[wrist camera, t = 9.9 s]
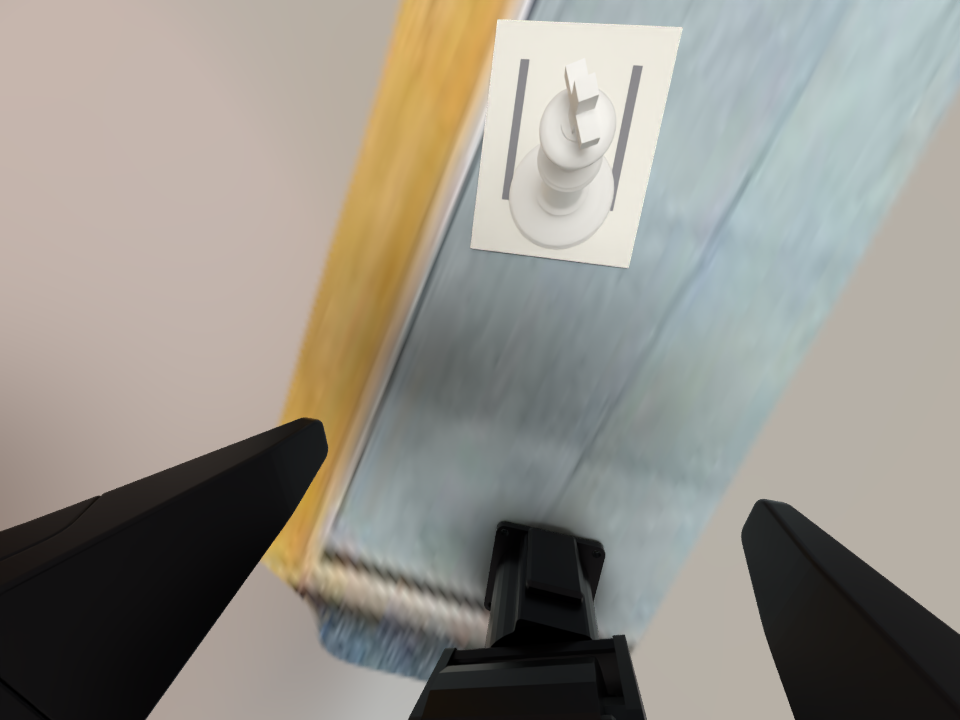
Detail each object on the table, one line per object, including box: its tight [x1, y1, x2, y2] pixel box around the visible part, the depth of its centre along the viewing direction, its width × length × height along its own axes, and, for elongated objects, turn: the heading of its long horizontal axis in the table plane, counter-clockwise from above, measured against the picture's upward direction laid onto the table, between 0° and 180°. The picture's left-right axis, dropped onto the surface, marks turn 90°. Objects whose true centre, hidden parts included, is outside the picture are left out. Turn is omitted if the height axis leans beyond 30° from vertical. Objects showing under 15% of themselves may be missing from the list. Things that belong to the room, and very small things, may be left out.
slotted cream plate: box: [470, 19, 683, 268], centre depth 17 cm, size 10×8×1 cm
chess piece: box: [509, 58, 616, 249], centre depth 12 cm, size 5×5×10 cm
